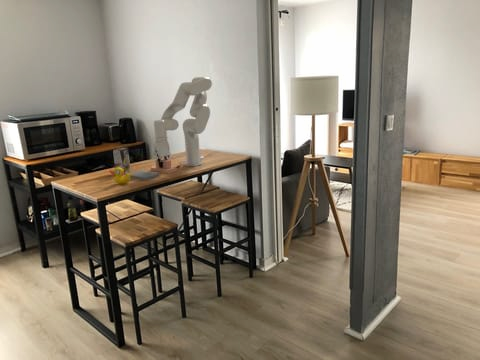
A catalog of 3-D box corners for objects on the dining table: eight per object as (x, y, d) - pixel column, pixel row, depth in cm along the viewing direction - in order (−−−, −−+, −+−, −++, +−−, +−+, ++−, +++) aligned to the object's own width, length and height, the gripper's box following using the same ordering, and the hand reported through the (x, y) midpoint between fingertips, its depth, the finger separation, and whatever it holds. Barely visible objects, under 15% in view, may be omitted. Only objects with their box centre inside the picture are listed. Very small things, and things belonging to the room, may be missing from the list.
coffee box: (124, 174, 253) (121, 150, 249) (115, 174, 254) (112, 150, 250) (131, 171, 262) (128, 147, 257) (122, 171, 263) (119, 147, 259)
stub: (159, 167, 268) (158, 157, 266) (177, 170, 259) (176, 160, 258) (151, 170, 262) (150, 160, 260) (168, 173, 253) (167, 162, 251)
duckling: (110, 185, 230) (108, 168, 227) (112, 183, 235) (110, 166, 232) (130, 184, 231) (128, 167, 228) (131, 181, 236) (129, 165, 233)
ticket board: (141, 173, 255) (141, 170, 255) (159, 176, 247) (159, 172, 246) (127, 177, 246) (126, 174, 245) (145, 180, 237) (144, 177, 237)
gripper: (166, 136, 264) (168, 163, 269) (147, 140, 250) (150, 168, 255) (174, 137, 260) (176, 164, 265) (155, 141, 246) (158, 170, 251)
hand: (163, 166), depth 260 cm, fingers closed on stub, 4 cm apart
